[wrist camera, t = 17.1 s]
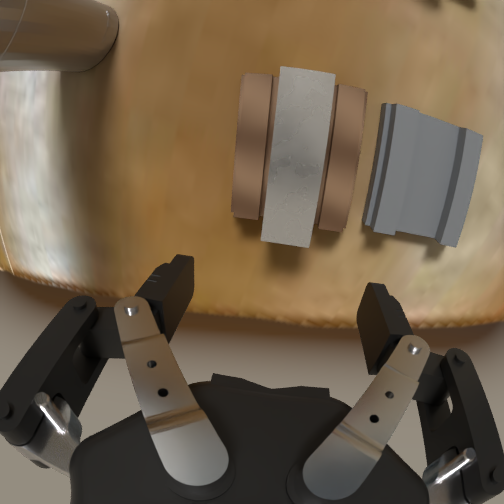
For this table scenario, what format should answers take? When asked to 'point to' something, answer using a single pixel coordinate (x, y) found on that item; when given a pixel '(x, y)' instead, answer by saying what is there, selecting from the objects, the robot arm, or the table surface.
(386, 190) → the grey channel bracket
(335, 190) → the cradle
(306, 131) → the block
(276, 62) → the table surface
